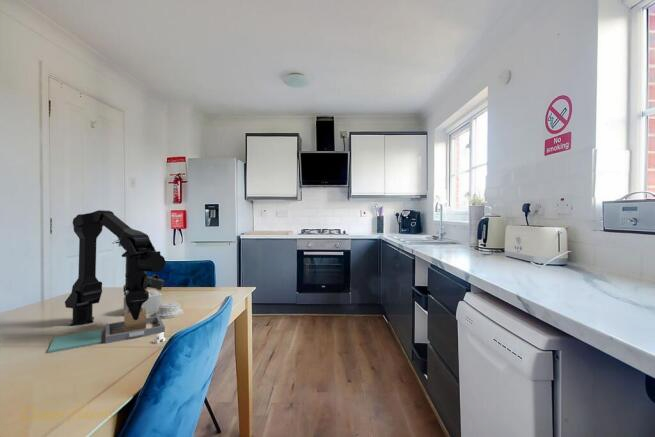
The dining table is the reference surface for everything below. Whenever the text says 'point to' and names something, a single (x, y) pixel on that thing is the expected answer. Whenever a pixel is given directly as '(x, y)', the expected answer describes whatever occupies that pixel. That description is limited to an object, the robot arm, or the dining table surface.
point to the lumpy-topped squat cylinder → (150, 302)
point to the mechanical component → (169, 310)
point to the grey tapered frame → (133, 333)
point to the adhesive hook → (159, 338)
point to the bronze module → (134, 321)
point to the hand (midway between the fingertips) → (135, 316)
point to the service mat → (75, 341)
